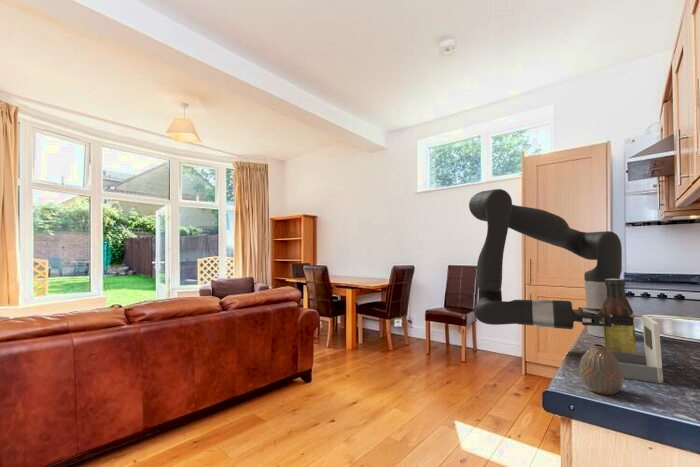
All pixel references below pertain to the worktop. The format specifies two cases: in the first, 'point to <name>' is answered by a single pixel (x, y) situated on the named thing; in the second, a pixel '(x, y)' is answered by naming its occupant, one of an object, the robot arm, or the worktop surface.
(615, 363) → the vase
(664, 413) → the worktop surface
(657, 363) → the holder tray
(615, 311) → the sauce bottle
